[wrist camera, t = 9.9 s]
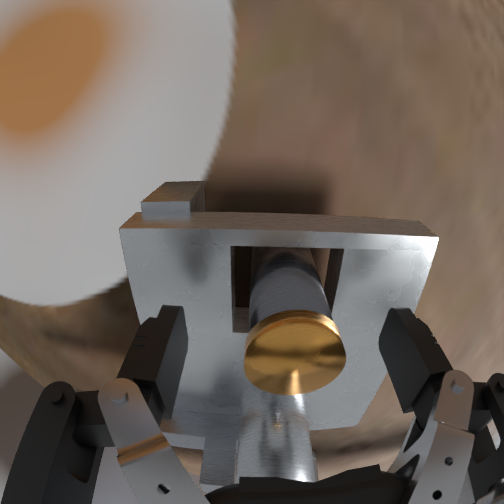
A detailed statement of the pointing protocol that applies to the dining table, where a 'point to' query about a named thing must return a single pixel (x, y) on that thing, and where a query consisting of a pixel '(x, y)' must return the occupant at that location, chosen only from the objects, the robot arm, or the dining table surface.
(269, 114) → the dining table surface
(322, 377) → the pin
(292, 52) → the dining table surface
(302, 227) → the grey metal bracket
